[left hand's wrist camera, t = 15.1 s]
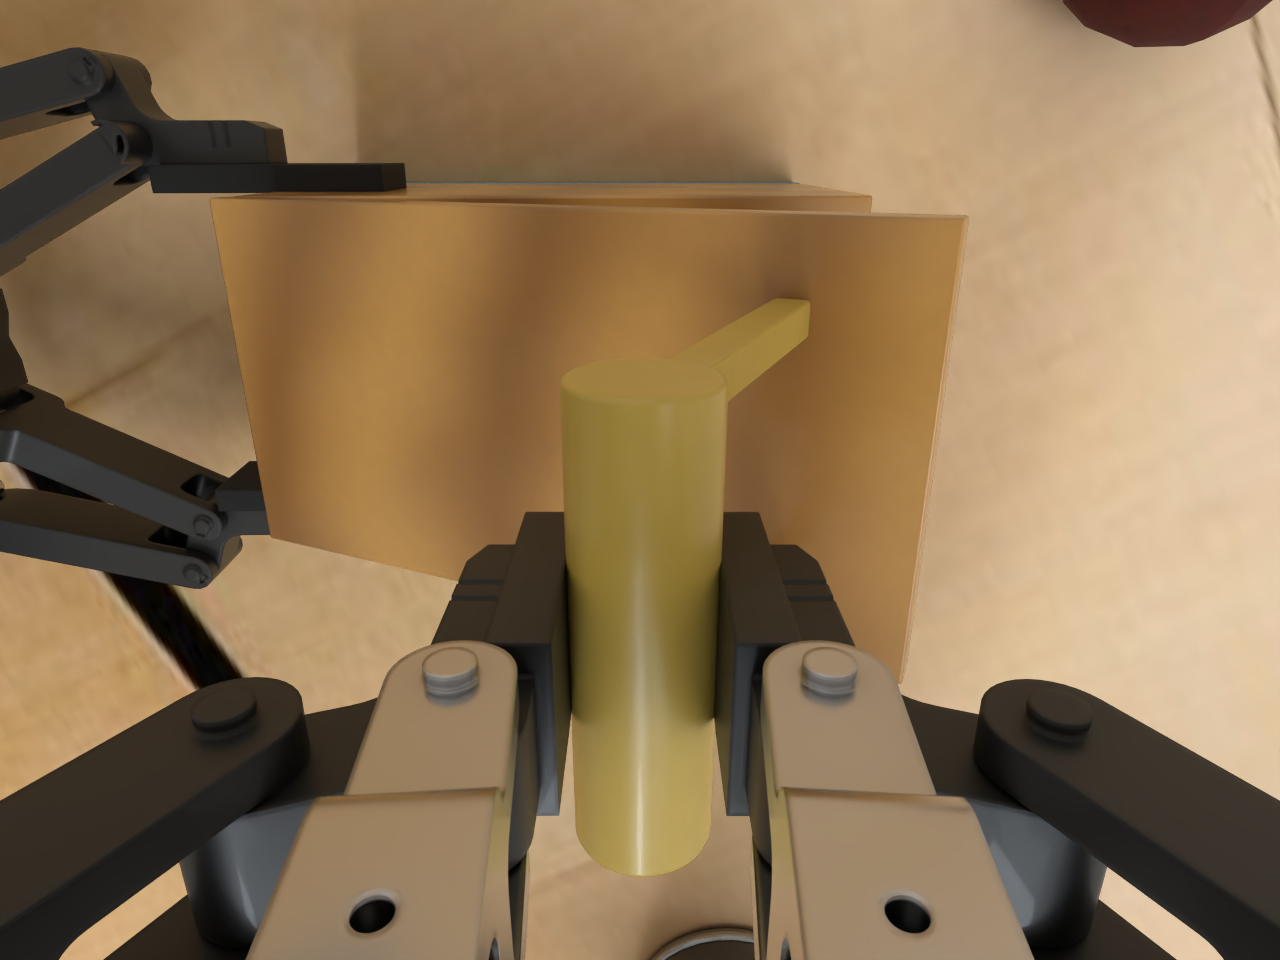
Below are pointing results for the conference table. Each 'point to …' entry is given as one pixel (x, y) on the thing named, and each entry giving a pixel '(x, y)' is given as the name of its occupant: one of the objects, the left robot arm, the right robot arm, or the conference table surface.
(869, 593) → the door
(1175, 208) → the conference table surface
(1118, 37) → the dark maroon ball
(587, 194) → the chest
